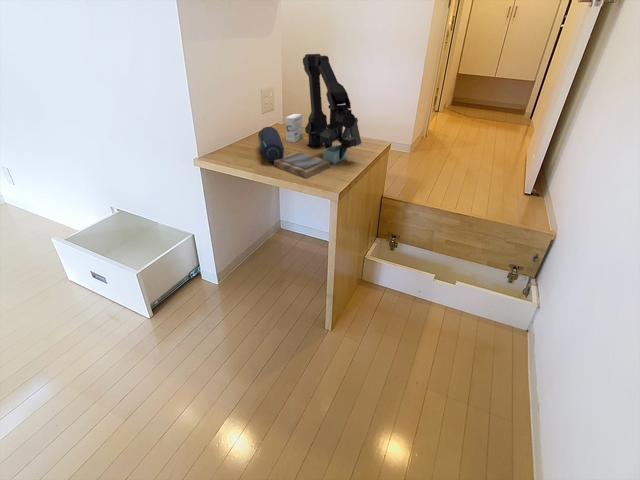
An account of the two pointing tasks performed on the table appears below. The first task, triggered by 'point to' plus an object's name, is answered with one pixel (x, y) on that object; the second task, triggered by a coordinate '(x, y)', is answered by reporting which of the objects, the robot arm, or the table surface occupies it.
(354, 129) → the phone stand
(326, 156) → the box
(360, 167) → the table surface
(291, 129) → the ink box
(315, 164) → the walnut stand
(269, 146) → the portable speaker
